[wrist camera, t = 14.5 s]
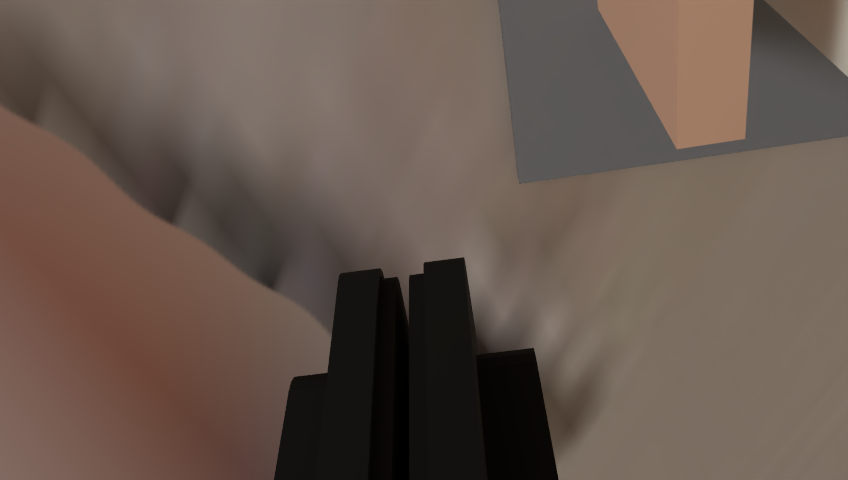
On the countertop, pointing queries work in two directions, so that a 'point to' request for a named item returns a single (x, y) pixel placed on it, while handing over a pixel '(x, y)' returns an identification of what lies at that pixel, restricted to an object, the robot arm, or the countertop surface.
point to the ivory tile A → (819, 25)
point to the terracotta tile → (688, 62)
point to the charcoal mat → (629, 105)
